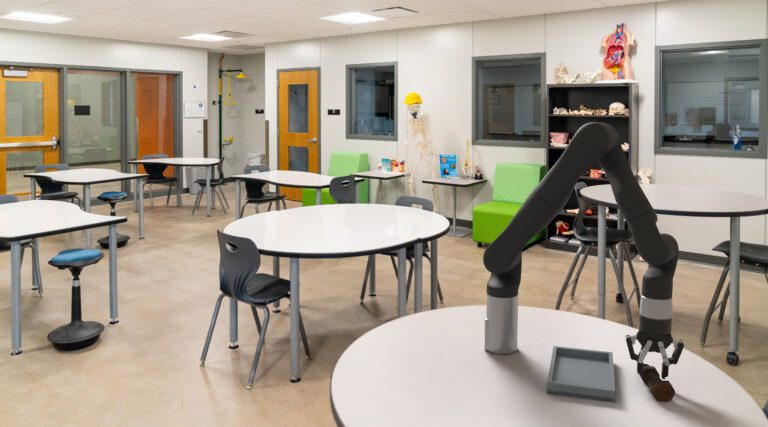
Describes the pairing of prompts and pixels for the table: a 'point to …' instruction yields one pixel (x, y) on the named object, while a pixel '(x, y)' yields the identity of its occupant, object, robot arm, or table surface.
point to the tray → (581, 374)
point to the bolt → (657, 384)
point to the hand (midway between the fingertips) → (652, 376)
